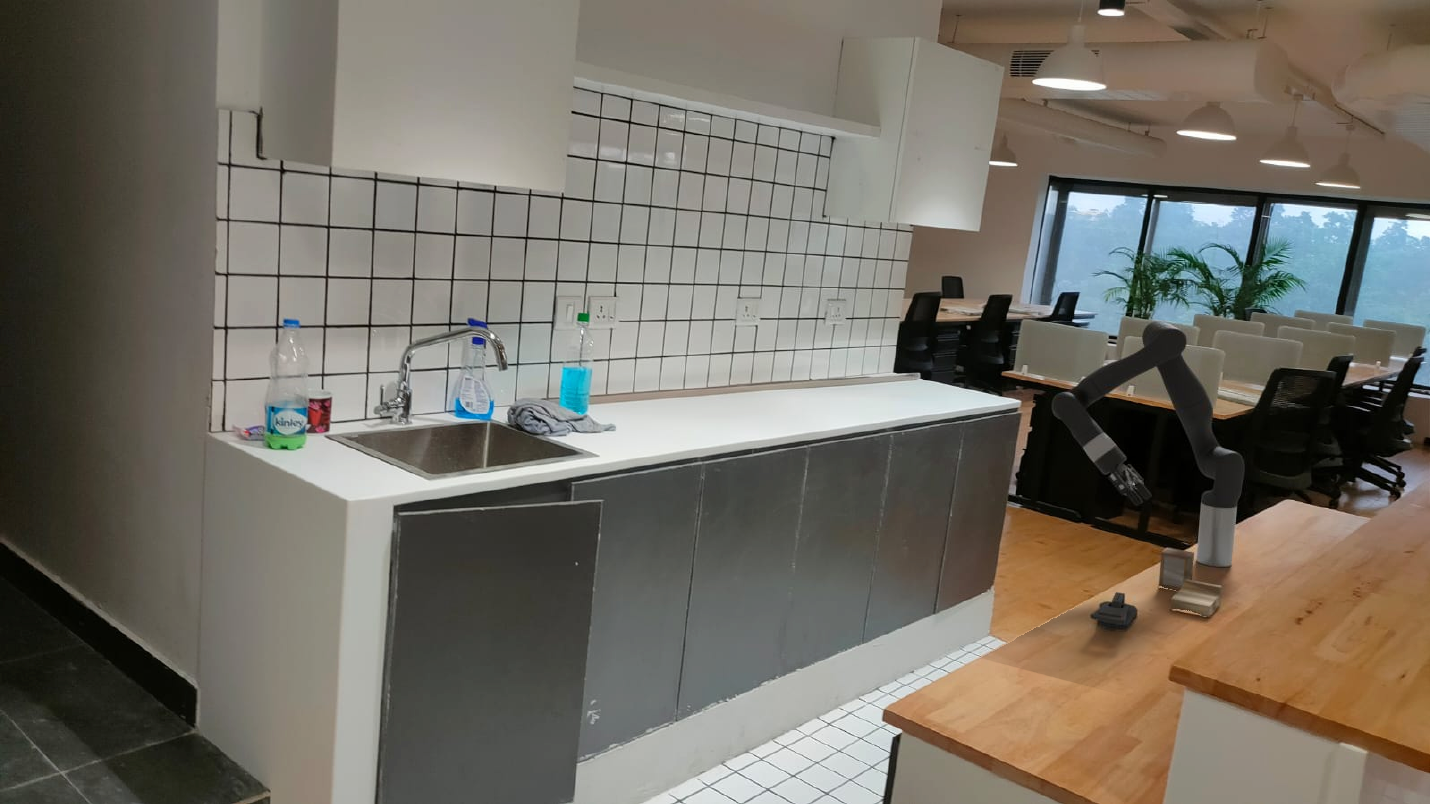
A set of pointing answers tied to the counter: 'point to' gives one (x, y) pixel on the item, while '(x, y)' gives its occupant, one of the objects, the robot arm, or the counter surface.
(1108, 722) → the counter surface
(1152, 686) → the counter surface
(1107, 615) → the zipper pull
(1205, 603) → the ledge
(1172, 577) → the frame
